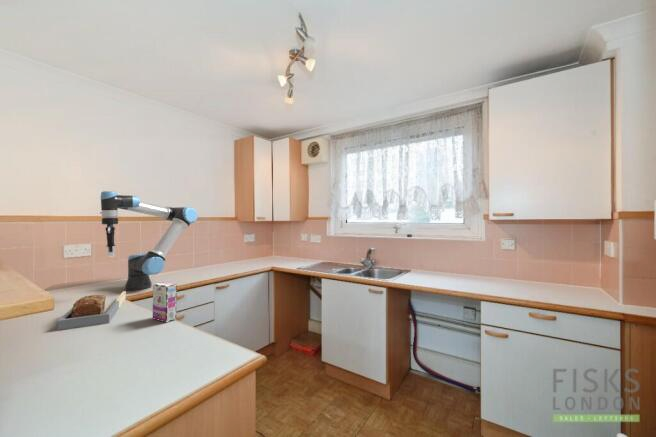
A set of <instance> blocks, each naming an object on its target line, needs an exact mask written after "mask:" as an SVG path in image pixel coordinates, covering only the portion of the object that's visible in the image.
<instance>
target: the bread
mask: <svg viewBox="0 0 656 437" xmlns="http://www.w3.org/2000/svg"><path fill="white" fill-rule="evenodd" d="M89 295H90V296H88V295H86V296H83V297H80V298H79V299H77V300H76V301H75V302H74V304H73V306H72V308H71V309H72V318H76V317H84V316H91V315H99V314H105V313H104V312H105V306H106V296H105V295H103V294H89Z"/></svg>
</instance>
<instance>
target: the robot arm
mask: <svg viewBox="0 0 656 437" xmlns="http://www.w3.org/2000/svg"><path fill="white" fill-rule="evenodd" d="M100 206H101V207H100V209H101V211H100V212H99V213H100V214H101V224H102V225H106V227H105V232H106V233H105V234H106V242H107V245H106V246H105V247H107V256H108V258H115V246H116V244H115V234H116V233H115V230H116V228H115V226H114V225H118V224H119V218H118V217H119V210H118V209H120V210H124V211H131V212H136V213H140V214H143V215H149V216H154V217H158V218H161V219H162V220H166V221H170V222H172V223H171V224H170V226H169V227H168V228H167V230H165V233H164V234H163V235H162V236H161V238H160V239H159V241H158V242H157V244H156V245H155V246H154V248H153V249H152V250H148V252H147V253H140V254H131V255H129V256H128V260H127V273H128V274H127V280H126V282H125V284H124V290H125V291H140V290H146V289H149V288H152V287H153V283H152V281H151V277H150V276H153V275H158V274H159V273H161V272H162V271H163V270H164V268H165V262H166V260H167V258H166V255H167V254H168V252H169V251H170V250H171V249H172V247H173V246H174V244H175V243H176V241H177V240H178V239H179V237H180V236H181V234H182V233H183V231H184V230H185V229H186V228H187V229H188V228H189V226H190V225H191V224H193V223H195V222H196V221H197V220H198V218H199V217H198V212H197V210H196V209H195V208H193V207H190V206H184V207H183V206H181V207H180V206H179V207H170V206H165V207H164V206H160V205H156V204H152V203H147V202H144V201H141V199H140V197H139V196H137V195H120V194H118V192H117V191H114V190H113V191H110V190H108V191H107V190H102V191H101V192H100Z"/></svg>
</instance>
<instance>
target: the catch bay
mask: <svg viewBox="0 0 656 437" xmlns="http://www.w3.org/2000/svg"><path fill="white" fill-rule="evenodd" d="M90 295H91V294H88V295H87V296H90ZM126 298H127V290H125V291H124V290H123V291H121V294H120V295H119V296H118V297H117V298H116V299H115V301H114V302H113V304H112V305H111V306H110V307H109V308H108V310H107V311H106V312H105V313H103V314H99V315H91V316H84V317H76V318H72V308H71V309H70V310H69V311H67V312H66V313H65V314H64V315H63V316H61V318H59V319H58V320H57V331H63V330H69V329H71V330H72V329H76V328H77V329H78V328H84V327H91V326H98V325H104V324H110V322H111V321H112V319H113V318H114V317H115V315H116V313H117V312H118V310H119V309H120V307H121V306H122V305H123V304H124V302H125V300H126ZM123 301H124V302H123Z"/></svg>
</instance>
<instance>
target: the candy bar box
mask: <svg viewBox="0 0 656 437" xmlns="http://www.w3.org/2000/svg"><path fill="white" fill-rule="evenodd" d="M177 286H178V285H177V284H176V283H175V284H174V283H169V282H163V281H162V282H157V283H152V319H153V318H155V319H159V320H163V321H169V320H171V319H173V321H175V320H177V292H178V291H177V289H178V287H177ZM155 319H154V320H155ZM159 320H158V321H159ZM163 321H162V322H163Z"/></svg>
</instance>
